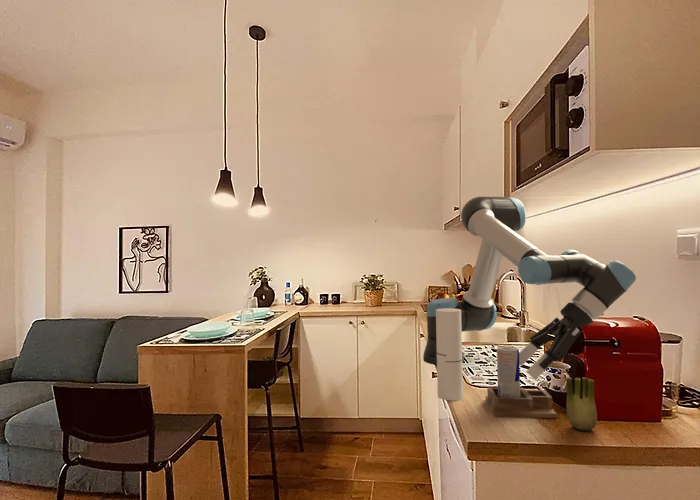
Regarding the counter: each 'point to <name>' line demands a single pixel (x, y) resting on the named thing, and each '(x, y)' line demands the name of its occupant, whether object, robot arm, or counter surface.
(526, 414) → the socket board
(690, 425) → the counter surface
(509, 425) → the counter surface
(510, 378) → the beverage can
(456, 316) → the cylindrical container
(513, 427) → the counter surface
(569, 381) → the fennel bulb
